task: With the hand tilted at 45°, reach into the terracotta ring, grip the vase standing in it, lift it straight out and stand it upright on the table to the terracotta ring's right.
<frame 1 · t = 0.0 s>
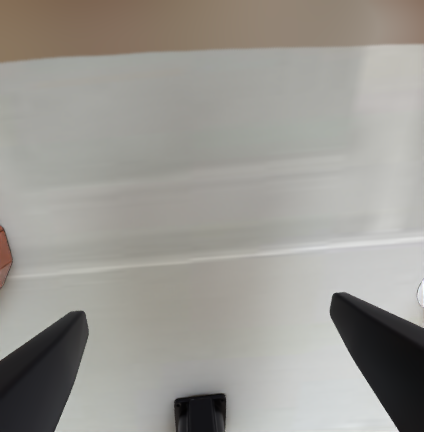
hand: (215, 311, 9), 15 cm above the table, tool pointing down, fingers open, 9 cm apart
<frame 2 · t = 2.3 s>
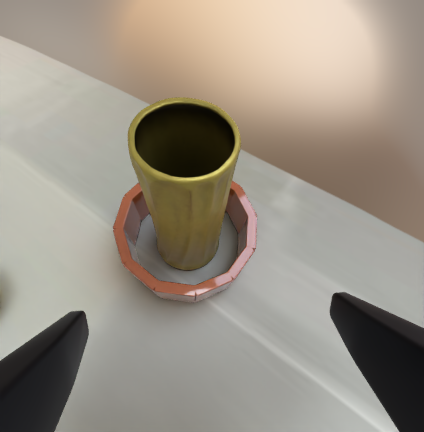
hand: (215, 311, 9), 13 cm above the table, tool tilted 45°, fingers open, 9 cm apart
terracotta ring: (188, 240, 24), on the table
vase: (188, 240, 24), resting in terracotta ring
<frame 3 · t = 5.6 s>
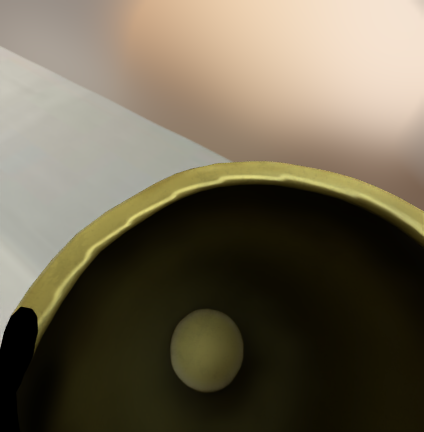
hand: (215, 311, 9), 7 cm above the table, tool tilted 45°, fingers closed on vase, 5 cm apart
vase: (206, 347, 15), resting in terracotta ring, touching gripper
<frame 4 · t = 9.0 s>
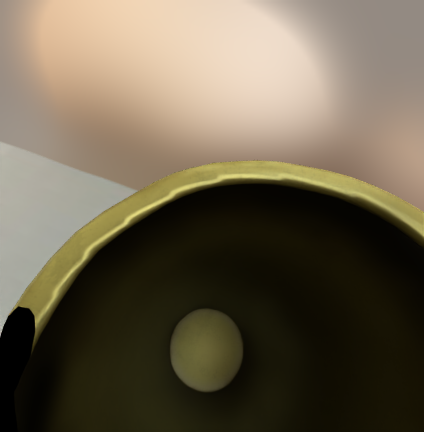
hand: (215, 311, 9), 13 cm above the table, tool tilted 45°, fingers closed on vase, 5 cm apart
vase: (205, 347, 15), point 6 cm above the table, touching gripper
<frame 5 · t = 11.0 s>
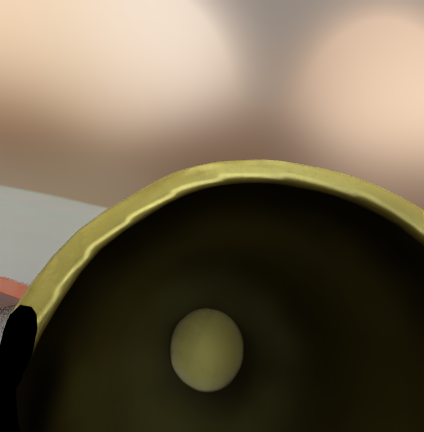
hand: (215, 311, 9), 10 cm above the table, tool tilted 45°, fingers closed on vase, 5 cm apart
terracotta ring: (9, 386, 15), on the table
vase: (206, 346, 15), point 2 cm above the table, touching gripper
when the fingers open (7 cm above the table, at t = 12.3 s): vase stays where it is, on the table.
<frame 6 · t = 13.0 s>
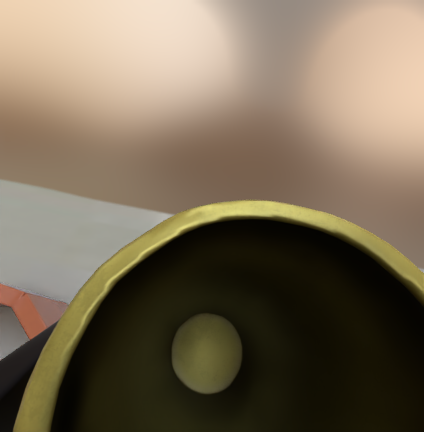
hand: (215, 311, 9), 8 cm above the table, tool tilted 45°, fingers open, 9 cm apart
vase: (206, 350, 15), on the table
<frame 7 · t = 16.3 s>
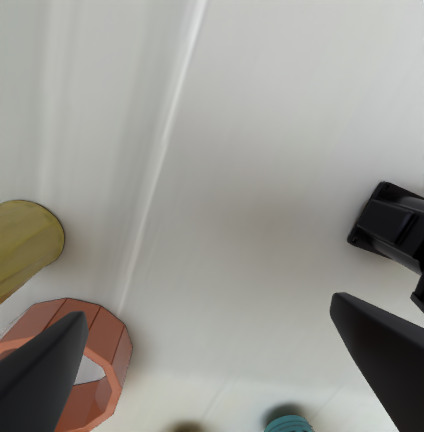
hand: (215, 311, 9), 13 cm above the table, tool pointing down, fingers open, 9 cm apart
terracotta ring: (71, 347, 24), on the table
beverage bottle: (280, 417, 31), on the table
vase: (28, 233, 20), on the table
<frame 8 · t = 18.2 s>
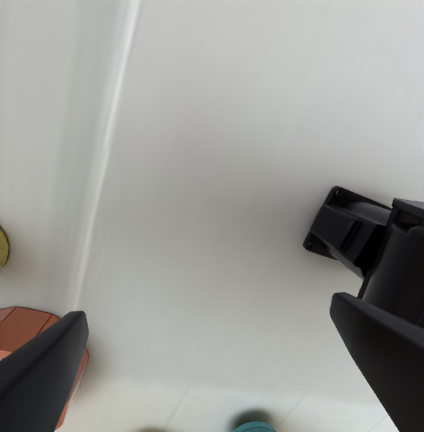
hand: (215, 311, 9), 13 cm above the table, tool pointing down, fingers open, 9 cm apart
terracotta ring: (25, 356, 24), on the table
beverage bottle: (247, 422, 31), on the table
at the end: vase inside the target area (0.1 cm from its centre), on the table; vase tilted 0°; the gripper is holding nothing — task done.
